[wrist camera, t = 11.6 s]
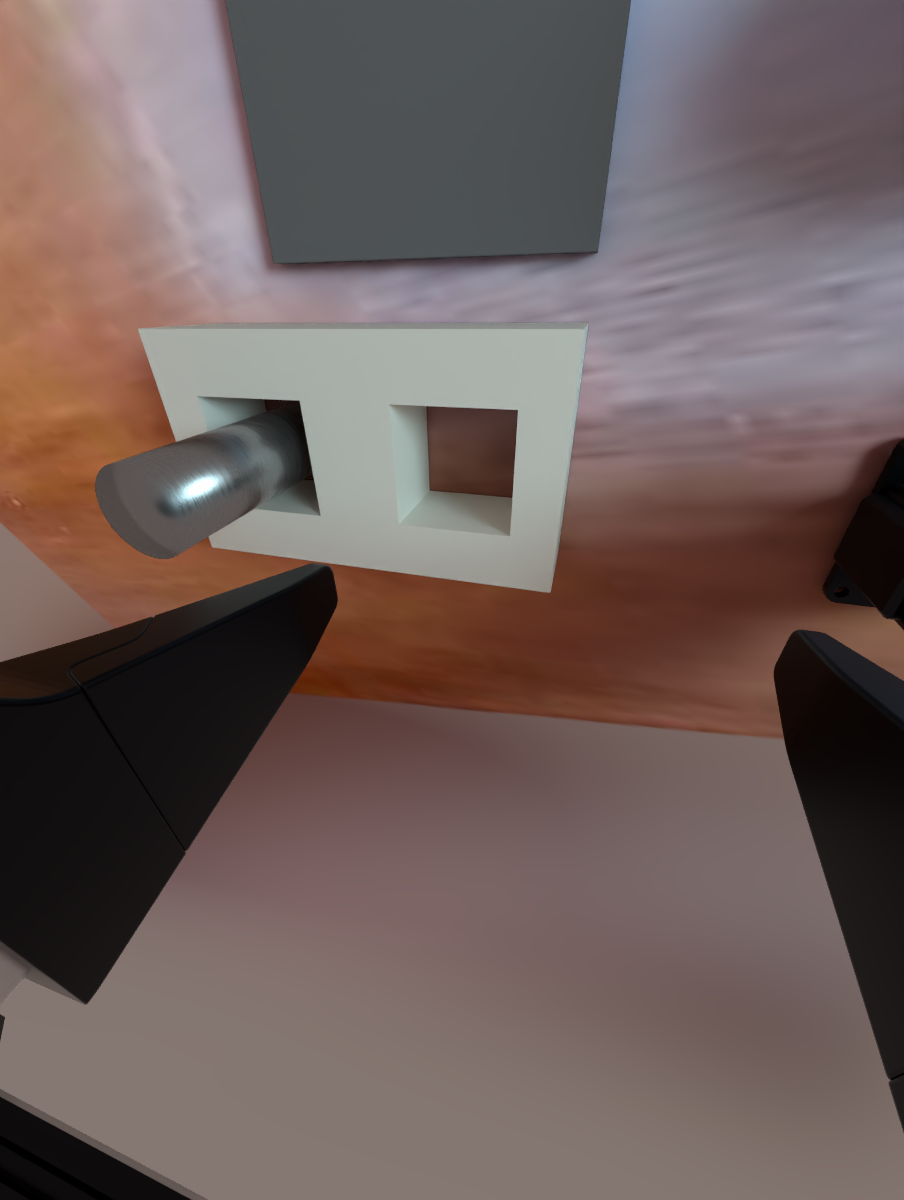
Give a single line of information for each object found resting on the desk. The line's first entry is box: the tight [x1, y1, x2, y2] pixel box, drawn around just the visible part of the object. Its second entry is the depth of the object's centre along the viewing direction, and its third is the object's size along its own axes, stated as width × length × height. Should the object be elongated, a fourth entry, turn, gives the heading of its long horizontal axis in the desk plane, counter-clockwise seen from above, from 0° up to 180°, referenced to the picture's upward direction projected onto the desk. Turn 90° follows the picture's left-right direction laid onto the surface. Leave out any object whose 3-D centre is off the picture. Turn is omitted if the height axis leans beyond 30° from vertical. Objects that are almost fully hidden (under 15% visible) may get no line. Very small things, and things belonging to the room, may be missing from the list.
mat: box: [225, 0, 631, 264], centre depth 14 cm, size 12×9×1 cm
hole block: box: [138, 323, 588, 593], centre depth 19 cm, size 16×9×4 cm, turn 90°
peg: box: [95, 401, 313, 559], centre depth 17 cm, size 3×3×10 cm
